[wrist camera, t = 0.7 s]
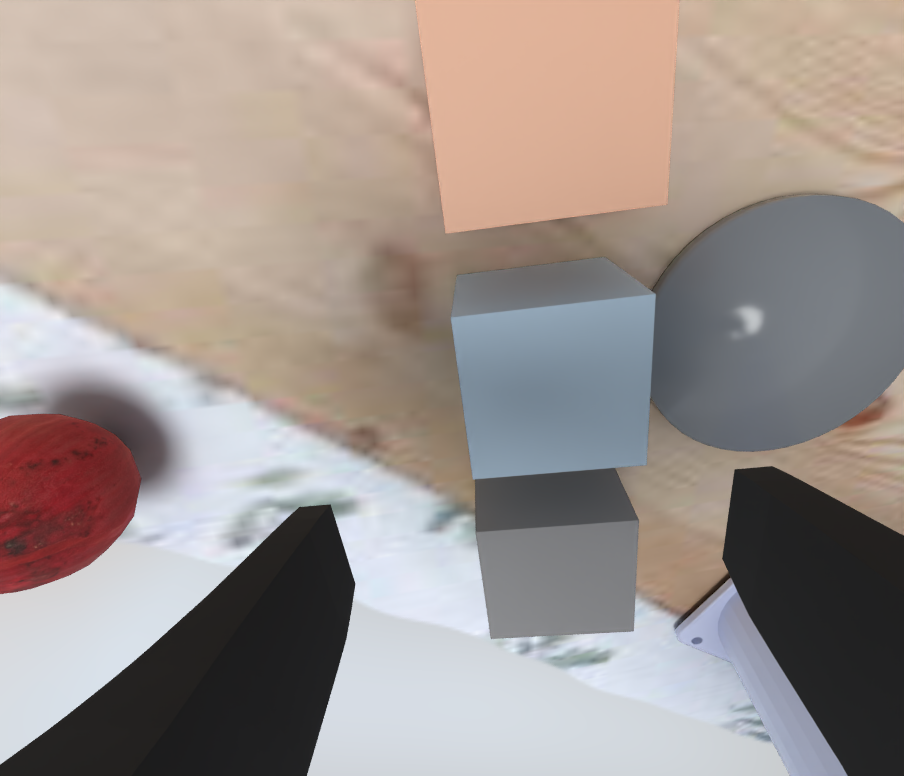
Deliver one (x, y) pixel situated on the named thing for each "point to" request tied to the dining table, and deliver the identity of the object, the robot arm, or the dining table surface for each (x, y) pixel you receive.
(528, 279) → the blue cube
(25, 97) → the dining table surface
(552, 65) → the terracotta cube
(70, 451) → the onion
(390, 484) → the dining table surface
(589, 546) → the charcoal cube
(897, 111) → the dining table surface
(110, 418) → the dining table surface
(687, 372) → the slate coaster
